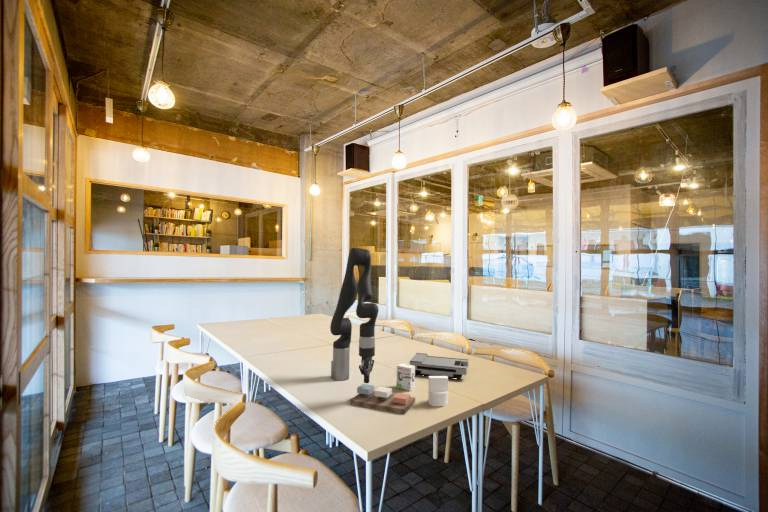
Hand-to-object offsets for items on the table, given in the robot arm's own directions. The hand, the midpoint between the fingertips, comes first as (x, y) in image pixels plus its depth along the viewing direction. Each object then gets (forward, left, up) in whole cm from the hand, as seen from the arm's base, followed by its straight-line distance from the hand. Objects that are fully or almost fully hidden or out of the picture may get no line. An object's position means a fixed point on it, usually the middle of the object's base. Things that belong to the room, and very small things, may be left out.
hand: (366, 382), depth 169 cm
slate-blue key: (0, 0, -4) cm, 4 cm away
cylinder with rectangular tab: (+32, +11, -8) cm, 35 cm away
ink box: (+12, +23, -8) cm, 27 cm away
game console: (+21, +57, -9) cm, 61 cm away
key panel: (+9, 0, -8) cm, 12 cm away
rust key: (+18, 0, -6) cm, 19 cm away
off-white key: (+9, 0, -4) cm, 10 cm away
